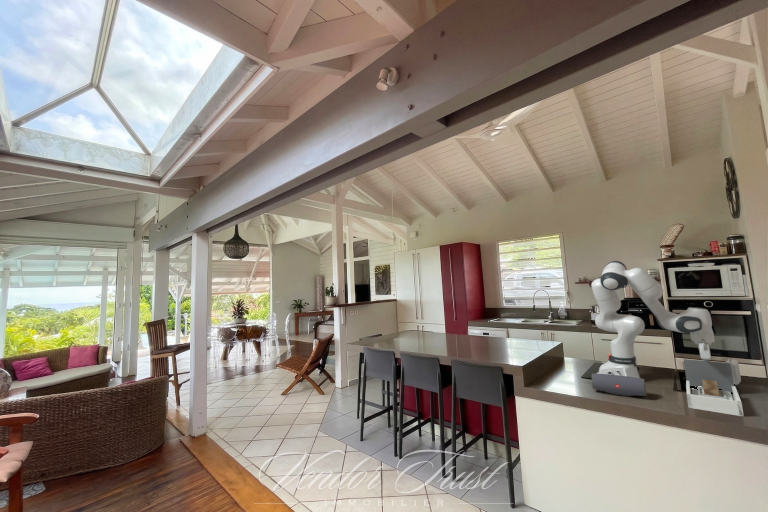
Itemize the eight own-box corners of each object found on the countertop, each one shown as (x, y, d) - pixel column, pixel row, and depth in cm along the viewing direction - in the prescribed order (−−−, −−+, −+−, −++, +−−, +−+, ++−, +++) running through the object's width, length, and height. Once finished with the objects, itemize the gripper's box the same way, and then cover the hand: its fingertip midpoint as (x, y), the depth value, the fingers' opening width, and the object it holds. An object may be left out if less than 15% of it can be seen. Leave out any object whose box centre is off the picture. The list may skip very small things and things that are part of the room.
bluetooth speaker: (593, 393, 171) (590, 375, 172) (594, 388, 178) (592, 370, 179) (646, 401, 156) (644, 381, 157) (646, 394, 164) (643, 375, 164)
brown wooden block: (704, 395, 154) (702, 383, 155) (703, 391, 159) (702, 379, 160) (719, 398, 151) (717, 385, 151) (718, 393, 156) (716, 380, 156)
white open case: (688, 401, 152) (683, 370, 153) (687, 386, 169) (683, 358, 170) (741, 409, 140) (735, 375, 141) (734, 392, 157) (730, 362, 158)
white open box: (688, 407, 147) (686, 394, 147) (687, 392, 162) (686, 380, 163) (743, 416, 135) (741, 402, 135) (737, 399, 151) (735, 386, 151)
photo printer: (730, 379, 174) (727, 356, 175) (742, 380, 170) (738, 357, 171) (726, 384, 168) (723, 360, 169) (738, 385, 164) (734, 362, 165)
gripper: (712, 342, 155) (716, 370, 154) (709, 334, 170) (713, 360, 169) (694, 341, 160) (698, 368, 159) (693, 333, 175) (697, 358, 174)
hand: (706, 364), depth 164 cm, fingers closed
